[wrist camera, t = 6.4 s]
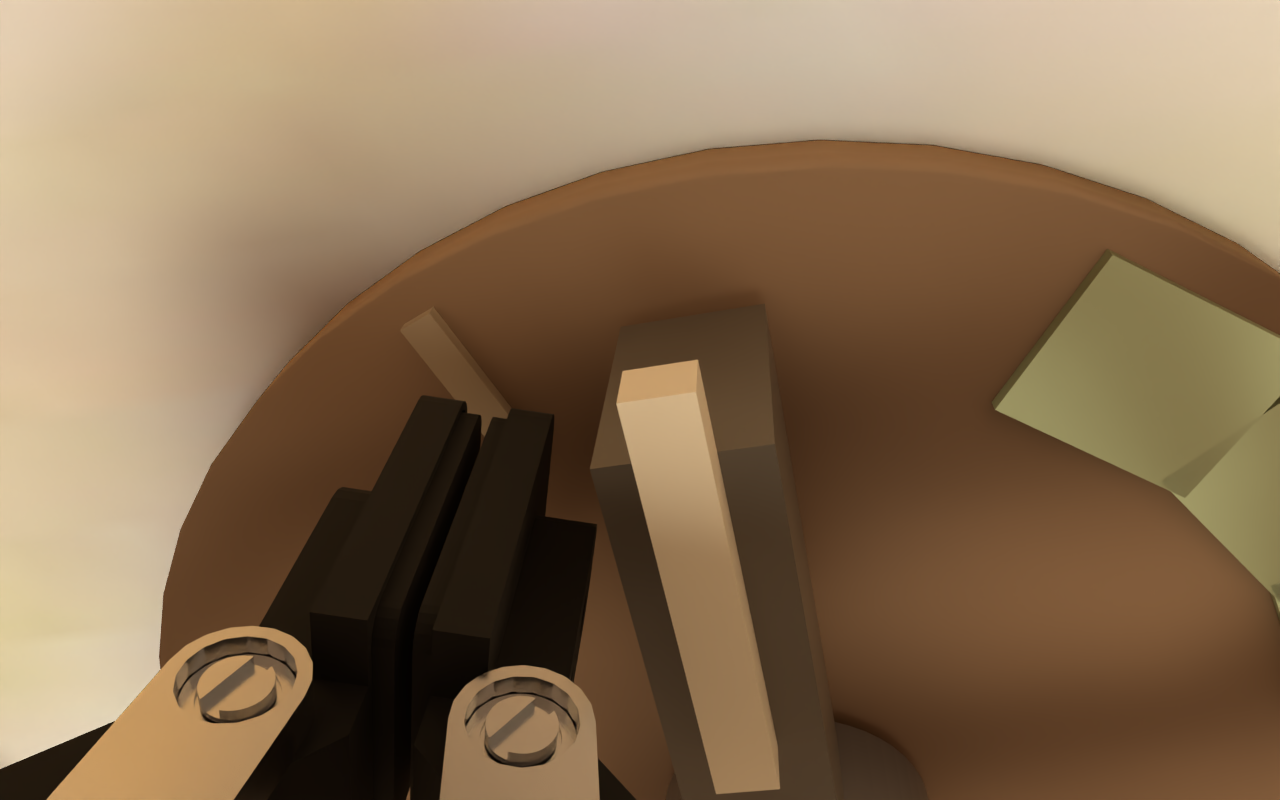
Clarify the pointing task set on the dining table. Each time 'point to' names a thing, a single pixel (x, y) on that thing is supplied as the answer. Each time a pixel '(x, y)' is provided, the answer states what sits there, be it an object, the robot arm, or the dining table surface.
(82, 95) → the dining table surface
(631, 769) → the dial board
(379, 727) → the robot arm
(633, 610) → the dial pointer
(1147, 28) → the dining table surface
